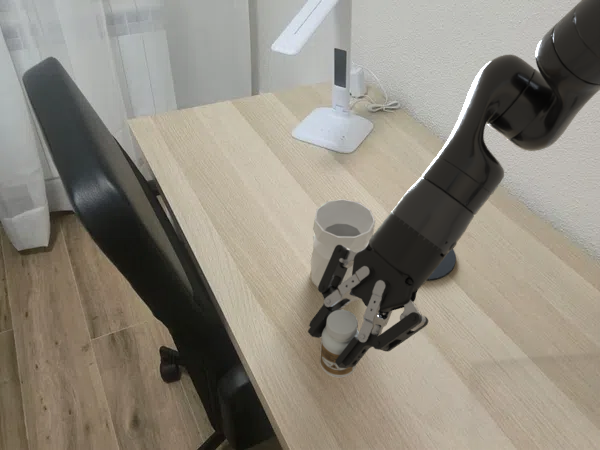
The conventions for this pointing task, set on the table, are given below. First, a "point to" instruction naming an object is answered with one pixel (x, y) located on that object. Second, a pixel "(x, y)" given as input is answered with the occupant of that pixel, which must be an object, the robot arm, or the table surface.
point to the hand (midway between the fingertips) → (327, 349)
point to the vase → (339, 233)
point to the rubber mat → (444, 266)
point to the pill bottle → (337, 341)
